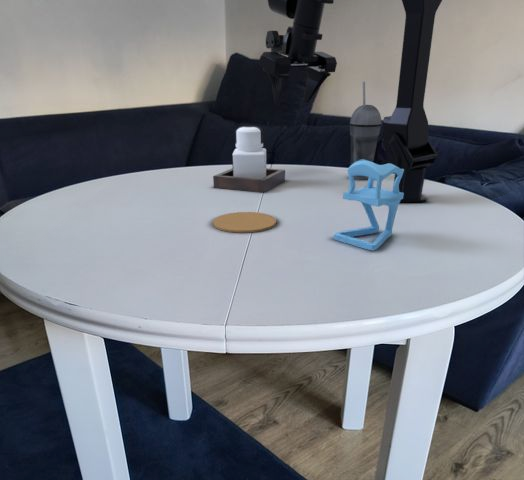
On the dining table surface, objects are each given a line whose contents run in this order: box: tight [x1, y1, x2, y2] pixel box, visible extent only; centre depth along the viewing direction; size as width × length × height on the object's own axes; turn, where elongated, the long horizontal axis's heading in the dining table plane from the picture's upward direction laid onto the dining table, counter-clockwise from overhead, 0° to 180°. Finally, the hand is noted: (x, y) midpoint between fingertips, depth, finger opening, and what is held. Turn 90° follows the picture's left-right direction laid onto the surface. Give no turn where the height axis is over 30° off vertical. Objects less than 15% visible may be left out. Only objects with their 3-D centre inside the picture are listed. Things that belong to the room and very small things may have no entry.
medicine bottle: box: [231, 125, 267, 179], centre depth 107 cm, size 7×7×12 cm
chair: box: [333, 159, 404, 252], centre depth 73 cm, size 8×8×12 cm
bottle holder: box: [212, 167, 286, 193], centre depth 109 cm, size 12×12×2 cm
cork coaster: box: [212, 211, 277, 234], centre depth 84 cm, size 11×11×1 cm
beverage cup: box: [348, 81, 383, 181], centre depth 110 cm, size 7×7×20 cm
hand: (291, 104), depth 112 cm, fingers open, 9 cm apart
